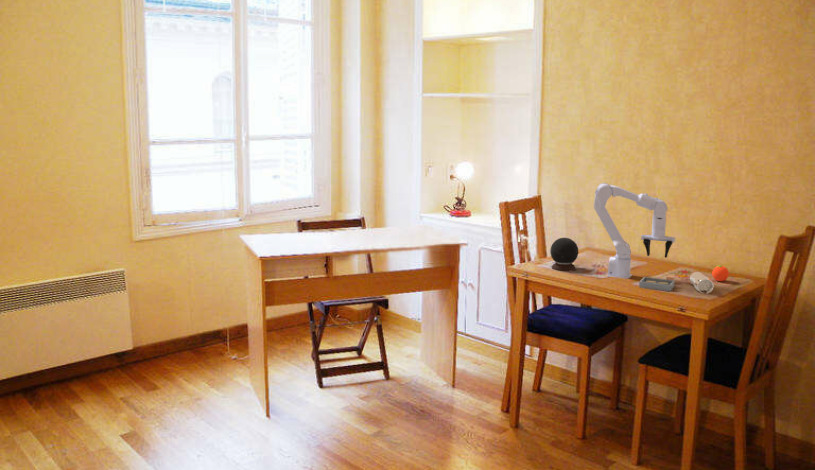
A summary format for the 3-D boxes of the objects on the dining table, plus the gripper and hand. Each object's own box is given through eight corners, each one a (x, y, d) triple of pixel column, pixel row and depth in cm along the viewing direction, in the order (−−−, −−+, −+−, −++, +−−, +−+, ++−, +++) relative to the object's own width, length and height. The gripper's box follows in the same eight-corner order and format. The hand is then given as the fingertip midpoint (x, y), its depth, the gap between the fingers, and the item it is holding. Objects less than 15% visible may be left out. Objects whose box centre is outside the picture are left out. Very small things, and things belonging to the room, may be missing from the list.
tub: (638, 288, 326) (639, 281, 326) (643, 283, 335) (644, 276, 334) (670, 292, 320) (670, 285, 320) (674, 287, 329) (674, 280, 328)
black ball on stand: (575, 272, 353) (576, 241, 350) (547, 270, 358) (548, 239, 355) (579, 266, 365) (581, 236, 362) (552, 264, 370) (553, 234, 367)
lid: (645, 284, 335) (645, 275, 335) (649, 279, 344) (650, 271, 343) (675, 288, 329) (676, 279, 328) (679, 283, 337) (680, 274, 337)
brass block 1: (645, 285, 329) (645, 281, 328) (646, 284, 330) (646, 280, 330) (655, 287, 327) (655, 282, 326) (656, 286, 328) (656, 281, 328)
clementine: (706, 279, 343) (707, 264, 341) (717, 278, 345) (719, 262, 344) (719, 283, 335) (721, 268, 334) (731, 282, 338) (733, 266, 337)
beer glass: (706, 284, 332) (715, 292, 317) (689, 287, 333) (698, 295, 318) (703, 269, 331) (712, 276, 316) (687, 272, 332) (695, 279, 317)
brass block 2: (658, 287, 326) (658, 283, 325) (657, 286, 327) (657, 282, 327) (667, 288, 325) (668, 283, 325) (667, 287, 327) (667, 282, 326)
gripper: (640, 227, 338) (638, 256, 341) (674, 229, 332) (672, 259, 334) (643, 224, 345) (642, 253, 347) (676, 227, 338) (675, 256, 340)
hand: (657, 256), depth 341 cm, fingers open, 7 cm apart
